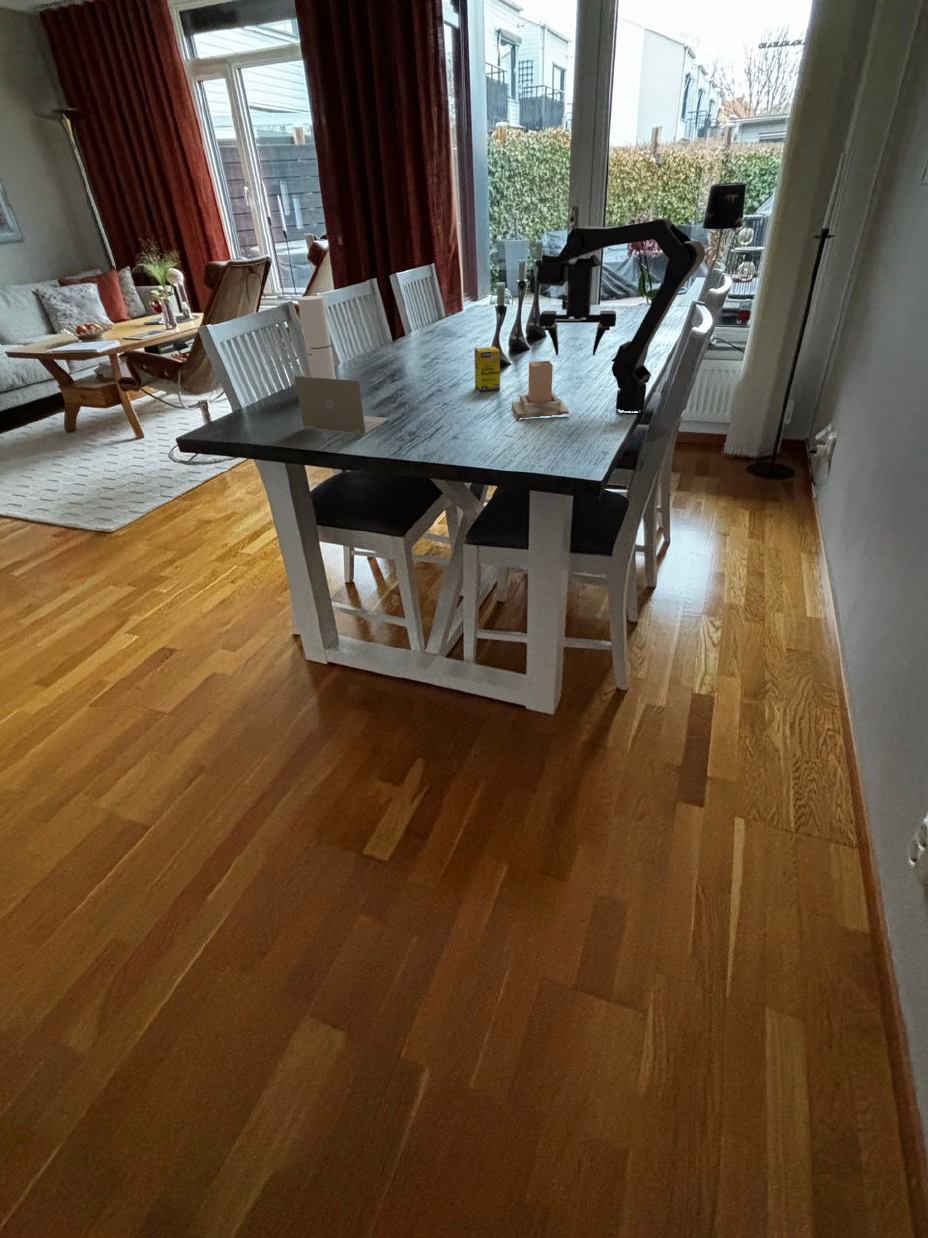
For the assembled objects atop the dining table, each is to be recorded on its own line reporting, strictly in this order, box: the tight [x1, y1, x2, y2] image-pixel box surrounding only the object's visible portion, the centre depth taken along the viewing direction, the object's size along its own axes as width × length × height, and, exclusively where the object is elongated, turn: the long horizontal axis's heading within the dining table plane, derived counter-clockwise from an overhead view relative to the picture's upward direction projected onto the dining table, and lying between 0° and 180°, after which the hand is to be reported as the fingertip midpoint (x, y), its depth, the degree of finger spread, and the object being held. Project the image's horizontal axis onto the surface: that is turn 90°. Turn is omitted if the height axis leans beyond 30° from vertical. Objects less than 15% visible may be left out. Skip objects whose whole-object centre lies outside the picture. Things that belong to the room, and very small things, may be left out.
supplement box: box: [474, 346, 501, 393], centre depth 181 cm, size 6×6×11 cm
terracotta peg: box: [527, 360, 554, 403], centre depth 161 cm, size 5×5×12 cm
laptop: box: [294, 375, 390, 436], centre depth 158 cm, size 18×12×13 cm
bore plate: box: [511, 392, 570, 420], centre depth 163 cm, size 13×11×4 cm
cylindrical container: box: [297, 295, 337, 379], centre depth 182 cm, size 7×7×25 cm
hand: (575, 355), depth 163 cm, fingers open, 9 cm apart
